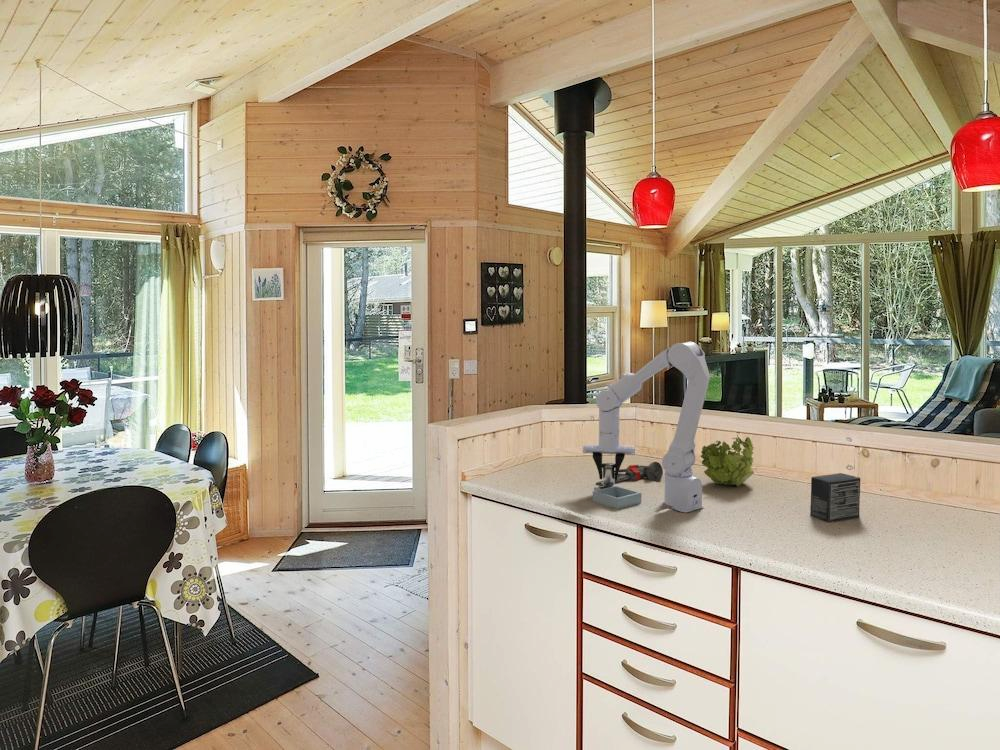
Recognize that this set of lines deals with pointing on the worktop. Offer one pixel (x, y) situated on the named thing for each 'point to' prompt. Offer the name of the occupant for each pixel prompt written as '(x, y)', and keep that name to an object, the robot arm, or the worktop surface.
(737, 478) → the lettuce head
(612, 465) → the metal capped cylinder
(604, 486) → the plate
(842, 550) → the worktop surface
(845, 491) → the small box
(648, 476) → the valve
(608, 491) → the bin
